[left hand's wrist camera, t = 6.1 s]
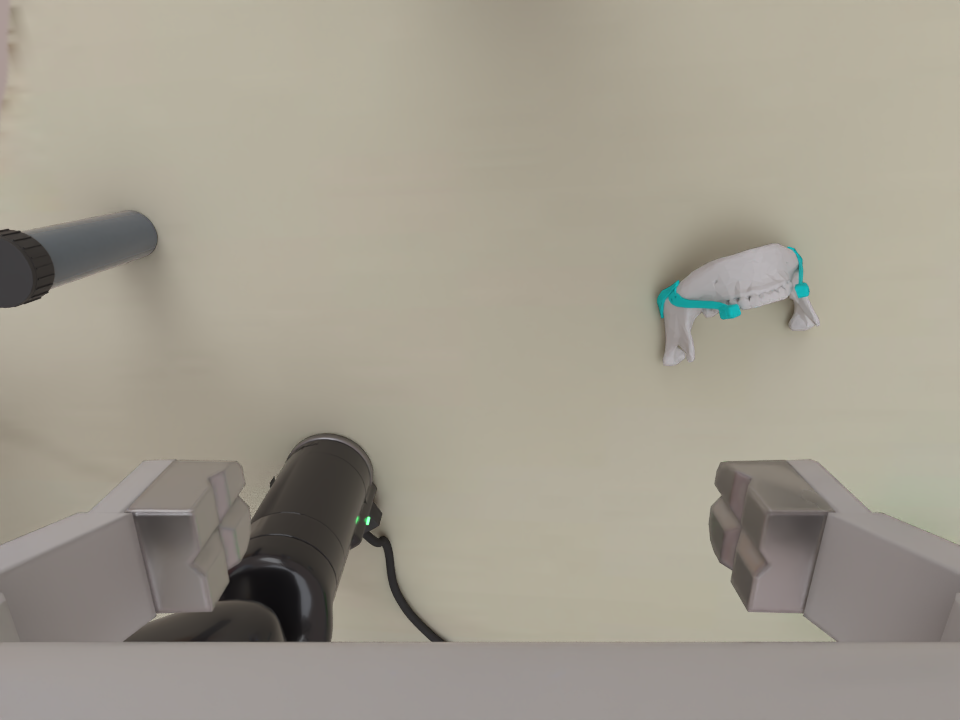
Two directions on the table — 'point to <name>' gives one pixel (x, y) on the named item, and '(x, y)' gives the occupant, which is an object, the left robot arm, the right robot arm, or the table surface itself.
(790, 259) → the anatomical model
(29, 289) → the lid
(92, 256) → the jar
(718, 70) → the table surface
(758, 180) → the table surface
